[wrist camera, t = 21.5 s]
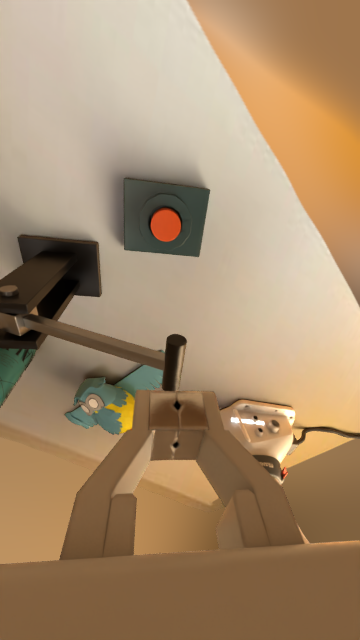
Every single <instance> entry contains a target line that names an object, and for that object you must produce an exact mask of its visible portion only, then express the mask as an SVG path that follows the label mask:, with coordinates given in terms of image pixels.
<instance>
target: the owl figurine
mask: <svg viewBox="0 0 360 640" xmlns="http://www.w3.org/2000/svg"><path fill="white" fill-rule="evenodd" d="M160 352H162V353H165V352H164V351H163V350H161V351H160ZM162 377H163V370H159V369H156V368H153V367H150V366H147V365H143V366H141V367H140V368H138V369H137V370H135V371H134V372H133V373H131V374H130V375H128V376H127V377H125V378H124V379H122V380H121V381H119V382H118V383H116V384H115V385H110V384H106V383H105V380H104V379H105V377H101V378H88V379H86V380H85V381H84V382H83V383H82V384H81V385H80V387H79V388H78V390H77V392H76V395H75V398H74V399H75V400H74V402H75V403H74V405H76V404H77V402H78V400H79V404H80V407H79V408H77V409H75V410H74V411H72V412H67V413H66V414H65V416H66V417H67V418H68V419H69V420H70V421H71V422H73V423H74V424H77V425H81V426H83V427H84V428H86V429H88V428H89V426H90V427H93V426H94V425H97V424H99V425H100V426H101V427H102V428H103V429H104V430H106V431H108V432H109V433H111V434H113V435H114V433H115V434H119V433H124V432H126V431H127V430H132V423H133V414H134V404H135V401H134V400H135V395H136V390H148V389H149V390H155V388H154V387H156V388H159V387H160V384H162ZM157 381H158V382H159V383H160V384H159V383H158V382H157ZM151 384H152V385H153V386H154V387H153V386H152V385H151ZM147 388H148V389H147ZM133 399H134V400H133ZM93 424H94V425H93Z"/></svg>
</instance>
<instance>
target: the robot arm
mask: <svg viewBox="0 0 360 640" xmlns="http://www.w3.org/2000/svg"><path fill="white" fill-rule="evenodd" d="M294 419H295V412H294V410H293V408H292V407H287V406H281V405H275V404H268V403H262V402H255V401H249V400H239V401H237V402H235V403H234V404H233V405H231V406H230V407H228V408H225V409H222V410H220V411H219V407H218V403H217V399H216V395H215V393H214V392H209V391H201V392H200V391H160V390H136V395H135V404H134V414H133V423H132V430H127V431H126V432H125V434H124V435H123V436H122V437H121V439H120V440H119V441H118V442H117V444H116V445H115V446H114V447H113V449H112V450H111V451H110V452H109V454H108V455H107V456H106V457H105V459H104V460H103V461H102V462H101V464H100V465H99V466H98V467H97V469H96V470H95V471H94V472H93V474H92V475H91V476H90V477H89V479H88V480H87V481H86V482H85V484H84V485H83V486H82V488H81V489H80V490H79V491H78V492H77V494H76V498H75V502H74V506H73V510H72V513H71V517H70V522H69V525H68V529H67V533H66V536H65V540H64V544H63V548H62V552H61V555H60V559H59V560H58V561H42V562H27V563H12V564H0V640H360V540H359V541H358V540H357V541H343V542H327V543H312V544H310V543H309V542H308V541H307V539H306V538H305V536H304V534H303V533H302V531H301V530H300V528H299V526H298V524H297V522H296V520H295V518H294V515H293V513H292V510H291V507H290V505H289V502H288V500H287V497H286V495H285V492H284V490H283V487H282V486H281V484H282V483H283V482H284V480H285V476H286V475H287V473H288V472H286V467H284V469H283V470H281V468H280V463H281V461H282V460H283V458H284V457H285V455H290V454H291V453H292V452H293V451H294V450H295V449H296V448H297V447H298V445H299V444H301V443H302V442H303V441H304V440H305V435H306V433H307V432H310V431H322V432H330V433H335V434H338V435H340V436H343V437H348V438H359V439H360V435H351V434H345V433H342V432H339V431H337V430H333V429H327V428H318V427H315V428H307V429H304V430H303V431H302V436H301V438H300V439H299V440H296V438H295V436H294V434H293V432H292V428H291V426H292V424H293V422H294ZM152 460H196V462H197V463H198V465H199V466H200V468H201V470H202V471H203V473H204V474H205V476H206V477H207V479H208V481H209V482H210V484H211V485H212V487H213V488H214V490H215V492H216V493H217V495H218V496H219V498H220V499H221V501H222V503H223V504H224V506H225V507H226V509H225V511H224V513H223V515H222V517H221V519H220V521H219V522H218V524H217V526H216V533H217V539H218V546H219V550H207V551H192V552H177V553H162V554H147V555H133V554H134V536H135V519H136V501H137V498H136V497H135V496H134V495H133V494H132V493H133V492H134V490H135V488H136V486H137V485H138V483H139V481H140V479H141V477H142V476H143V474H144V472H145V470H146V469H147V467H148V465H149V463H150V461H152ZM285 472H286V473H285Z"/></svg>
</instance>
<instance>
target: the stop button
mask: <svg viewBox="0 0 360 640" xmlns="http://www.w3.org/2000/svg"><path fill="white" fill-rule="evenodd" d="M180 229H181V223H180V219H179V217H178V215H177V214H176V212H175V211H173V210H172V209H169V208H161V209H159V210H157V211H156V212H155V213H154V214H153V216H152V219H151V231H152V233H153V235H154V236H155V237H156V238H157V239H159V240H161V241H165V242H167V241H171V240H173V239H175V238H176V237H177V236H178V234H179V232H180Z"/></svg>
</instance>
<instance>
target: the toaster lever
mask: <svg viewBox="0 0 360 640" xmlns="http://www.w3.org/2000/svg"><path fill="white" fill-rule="evenodd" d="M31 329H32V330H35V331H38V332H41V333H45V334H48V335H51V336H54V337H57V338H61V339H64V340H67V341H70V342H73V343H76V344H80V345H83V346H86V347H89V348H92V349H96V350H99V351H102V352H105V353H108V354H112V355H115V356H118V357H121V358H124V359H127V360H131V361H134V362H137V363H140V364H143V365H147V366H150V367H153V368H156V369H159V370H163V377H162V389H163V390H164V391H177V390H178V389H179V384H180V378H181V373H182V367H183V361H184V355H185V349H186V343H187V340H186V338H185V337H183V336H182V335H178V334H172V335H170V336H168V337H167V341H166V350H165V353H162V352H159V351H155V350H152V349H149V348H145V347H142V346H139V345H135V344H132V343H129V342H125V341H122V340H118V339H115V338H112V337H108V336H105V335H102V334H98V333H95V332H92V331H88V330H85V329H82V328H78V327H75V326H72V325H68V324H65V323H61V322H58V321H55V320H51V319H48V318H45V317H41V316H38V312H37V308H36V307H35V308H34V309H33V310H32V311H31V312H30V313H29V314H16V313H0V330H3V331H6V332H9V333H12V334H15V335H18V336H21V335H23V334H25V333H26V332H28V331H30V330H31Z"/></svg>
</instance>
